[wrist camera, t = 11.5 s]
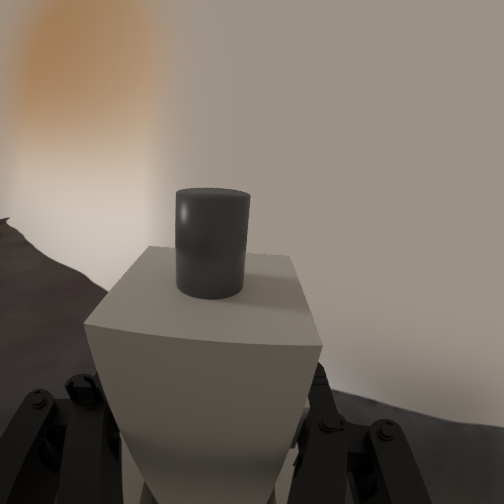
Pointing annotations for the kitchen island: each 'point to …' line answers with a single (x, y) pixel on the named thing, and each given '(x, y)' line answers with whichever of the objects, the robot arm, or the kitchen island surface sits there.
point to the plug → (207, 357)
